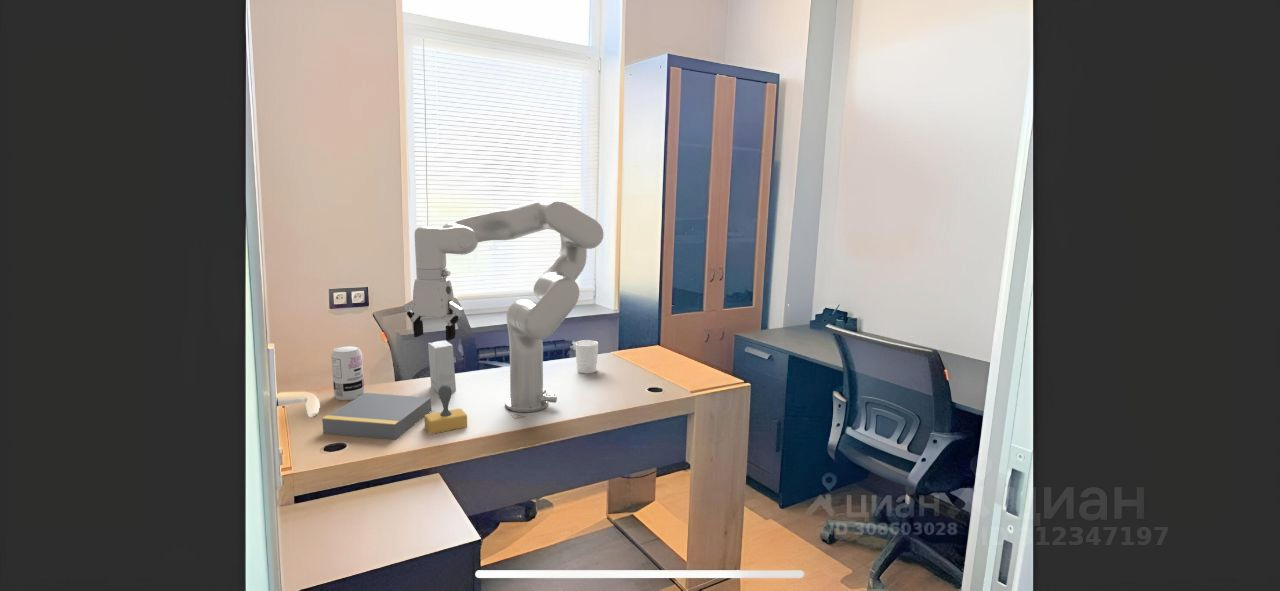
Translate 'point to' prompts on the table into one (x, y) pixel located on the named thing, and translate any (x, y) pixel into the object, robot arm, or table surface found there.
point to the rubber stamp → (445, 415)
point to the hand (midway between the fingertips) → (434, 337)
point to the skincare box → (441, 365)
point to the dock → (377, 416)
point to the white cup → (586, 356)
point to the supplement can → (347, 372)
